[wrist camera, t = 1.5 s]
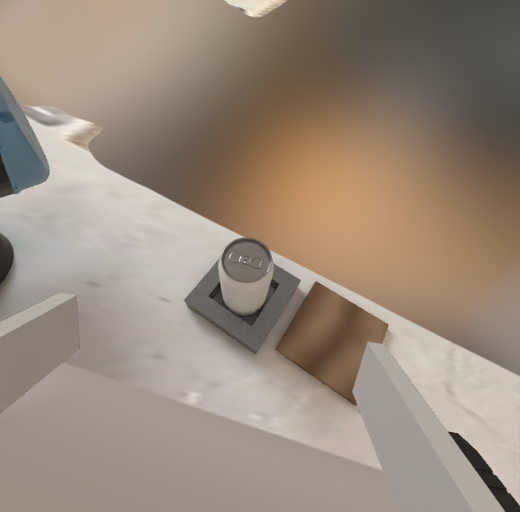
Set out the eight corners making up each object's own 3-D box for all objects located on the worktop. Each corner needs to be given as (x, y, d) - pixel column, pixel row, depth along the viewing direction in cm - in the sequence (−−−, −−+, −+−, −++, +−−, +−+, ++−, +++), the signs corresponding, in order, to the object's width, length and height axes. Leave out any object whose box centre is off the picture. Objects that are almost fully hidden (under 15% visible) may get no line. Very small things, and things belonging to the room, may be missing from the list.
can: (228, 272, 39) (225, 229, 29) (268, 280, 39) (280, 240, 28) (217, 311, 36) (209, 279, 26) (261, 321, 36) (270, 292, 25)
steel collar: (187, 305, 36) (184, 300, 34) (235, 248, 41) (235, 240, 39) (255, 354, 34) (256, 351, 31) (297, 286, 39) (301, 280, 37)
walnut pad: (275, 349, 34) (276, 348, 33) (314, 283, 39) (316, 281, 38) (354, 405, 32) (358, 405, 31) (385, 326, 37) (388, 324, 36)
